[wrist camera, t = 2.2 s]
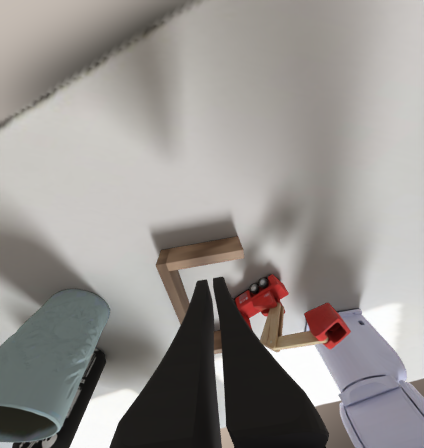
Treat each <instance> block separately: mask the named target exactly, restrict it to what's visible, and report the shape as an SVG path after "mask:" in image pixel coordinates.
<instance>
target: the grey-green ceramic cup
mask: <svg viewBox="0 0 424 448" xmlns="http://www.w3.org/2000/svg"><path fill="white" fill-rule="evenodd" d="M109 315H110V308H109V306H108V304H107V303H106V302H105V301H104V300H103V299H102V298H100V297H99V296H97V295H95V294H94V293H91V292H88V291H84V290H79V289H68V290H63V291H60V292H58V293H56V294H55V295H53V296H52V297H51V298H50V299H49V300H48V301H47V302H46V303H45V304H44V305H43V306H42V307H41V308H40V309H39V310H38V311H37V312H36V313H35V314H34V315H33V316H32V317H30V318H29V319H28V320H27V321H26V322H25V323H24V324H23V325H22V326H21V327H20V328H19V329H18V330H17V332H16V333H15V334H14V335H12V336H11V337H9V338H8V339H7V340H6V341H5V342H4V343H3V344H2V345H1V346H0V442H29V441H37V440H42V439H45V438H49V437H51V436H53V435H55V434H56V433H57V432H58V431H60V429H61V427H62V425H63V423H64V420H65V418H66V416H67V413H68V411H69V409H70V406H71V404H72V401H73V399H74V397H75V394H76V392H77V389H78V387H79V384H80V381H81V379H82V377H83V375H84V372H85V370H86V368H87V366H88V363H89V361H90V357H91V355H92V354H93V352H94V349H95V347H96V345H97V342H98V340H99V338H100V335H101V333H102V331H103V329H104V327H105V325H106V323H107V321H108V318H109Z"/></svg>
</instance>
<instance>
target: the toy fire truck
mask: <svg viewBox="0 0 424 448" xmlns="http://www.w3.org/2000/svg"><path fill="white" fill-rule="evenodd" d="M288 294H289V293H288V291H287V290H286V288H285V286H284V285H283V283H281V282H280V281H279V280H278V279H277V278H276V277H275V276H274V275H270V276H269V277H268V280H267V279H265V278H262V279H260V280H259V286H258V285H257V284H253V285H251V287H250V291H249V290H247V291H246V292H244V293H243V294H241V295H240V296H238V297H237V298H235V300H234V299H233V301H234V303H235V304H236V306H237V308H238V310H239V311H240V313H241V315H242V316H243V318H244V319H245V321H246V322H247V324H248V325H249V327H250V328H251V324H250V320H249V318H250V317H252V316H254V315H255V314H257V313H259V312H260V311H261V313H262V314H263V315H264V316H268V317H267V320H266V323H265V326H264V329H263V333H262V336H261V339H260V342H261V343H262V344H263V345H264V346H266V347H268V348H269V349H271V350H273V351H275V352H279V351H280V350H281V349H289V348H295V347H302V346H308V345H315V344H323V345H325V346H326V347H327V348H328V349H332V348H333V347H335V346H336V345H337V344H338V343H340V342H341V341H342V340H343V339H344V338H345V337H346V336H347V335H349V334H350V333H351V331H350V329H349V328H348V326H347V325H346V323H345V322H344V321H343V319H342V318H341V316H340V315H339V314H338V313H337V312H336V311H335V309H334V308H333V307H332V306H331V305H330V304H329V303H325V304H323V305H321V306H318V307H317V308H315V309H312V310H310V311H308V312H306V313H304V315H305V318H306V321H307V323H308V326H309V329H310V331H306V332H301V333H295V334H290V335H285V336H282V327H283V315H284V313H285V310H284V307H283V306H282V304H281V302H280V299H282V298H283V297H285V296H287V295H288ZM251 329H252V328H251Z"/></svg>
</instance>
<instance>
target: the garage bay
mask: <svg viewBox="0 0 424 448" xmlns="http://www.w3.org/2000/svg"><path fill="white" fill-rule="evenodd" d="M242 258H244V252H243V248H242V245H241V243H240V240H239V238H238V236H237V237H231V238H226V239H220V240H215V241H209V242H203V243H198V244H192V245H187V246H181V247H176V248H170V249H165V250H161V252H160V255H159V258H158V260H157V263H156V267H157V270H158V272H159V274H160V277H161V279H162V281H163V284H164V286H165V289H166V291H167V293H168V296H169V298H170V300H171V303H172V305H173V307H174V310H175V312H176V315H177V317H178V319H179V322H180V324H182V321H183V319H184V317H185V315H186V312H187V310H188V307H189V305H190V303H189V301H188V298H187V295H186V292H185V289H184V286H183V283H182V281H181V278H180V275H179V272H178V270H179V269H185V268H191V267H196V266H202V265H208V264H213V263H219V262H225V261H230V260H236V259H242ZM218 353H222V343H221V331H214V354H218Z"/></svg>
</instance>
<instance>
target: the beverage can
mask: <svg viewBox="0 0 424 448" xmlns="http://www.w3.org/2000/svg"><path fill="white" fill-rule="evenodd" d="M105 364H106V359H105V355H104V353H103V352H101V351H100V350H98V349H94V352H93V354H92V355H91V357H90V361H89V363H88V366H87V368H86V370H85V372H84V375H83V377H82V379H81V381H80V384H79V387H78V389H77V392H76V394H75V397H74V399H73V401H72V404H71V406H70V409H69V411H68V413H67V416H66V418H65V420H64V423H63V425H62V427H61V429H60V431H58V432H57V433H56V434H55V435H53V436H51V437H49V438H45V439H42V440H37V441H29V442H14V443H13V446H12V448H69V447H70V445H71V443H72V440H73V438H74V436H75V433H76V431H77V429H78V426H79V424H80V422H81V419H82V417H83V415H84V412H85V410H86V408H87V405H88V403H89V401H90V399H91V396H92V394H93V392H94V389H95V387H96V385H97V382H98V380H99V378H100V375H101V373H102V371H103V368H104V366H105Z"/></svg>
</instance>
